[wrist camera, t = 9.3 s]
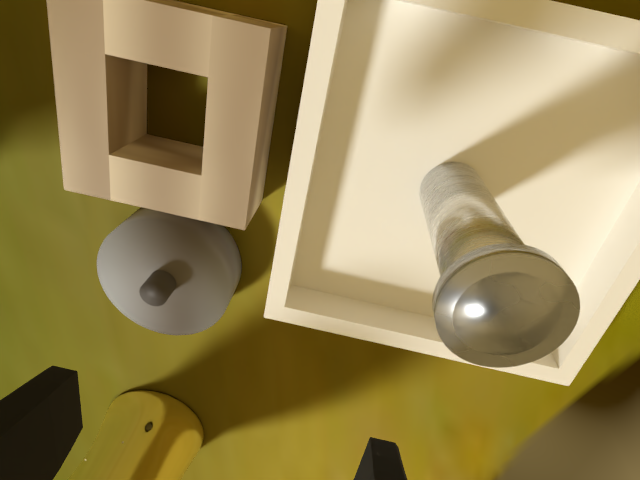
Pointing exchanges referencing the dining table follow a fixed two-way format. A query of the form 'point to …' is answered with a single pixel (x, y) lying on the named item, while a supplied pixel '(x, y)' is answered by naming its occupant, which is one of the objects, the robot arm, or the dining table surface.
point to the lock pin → (491, 276)
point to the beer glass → (143, 440)
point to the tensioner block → (166, 147)
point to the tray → (459, 160)
